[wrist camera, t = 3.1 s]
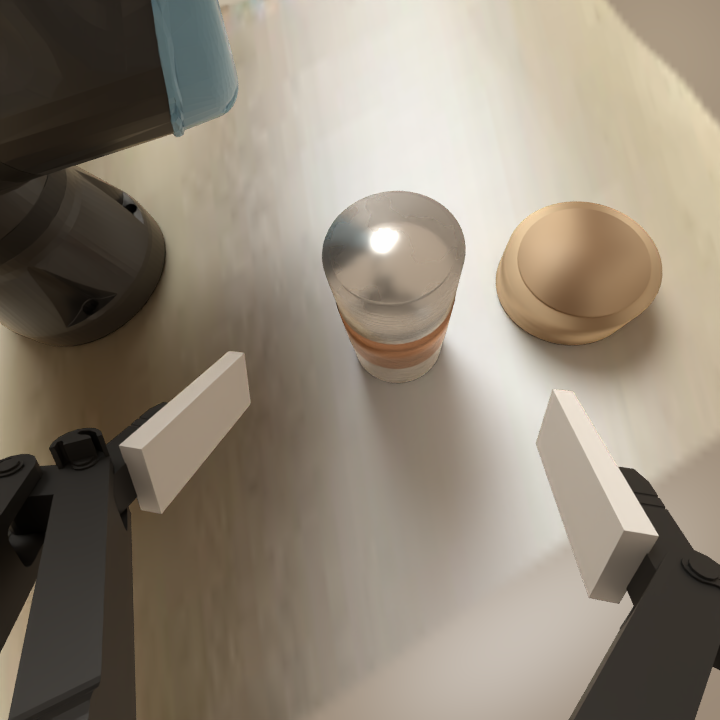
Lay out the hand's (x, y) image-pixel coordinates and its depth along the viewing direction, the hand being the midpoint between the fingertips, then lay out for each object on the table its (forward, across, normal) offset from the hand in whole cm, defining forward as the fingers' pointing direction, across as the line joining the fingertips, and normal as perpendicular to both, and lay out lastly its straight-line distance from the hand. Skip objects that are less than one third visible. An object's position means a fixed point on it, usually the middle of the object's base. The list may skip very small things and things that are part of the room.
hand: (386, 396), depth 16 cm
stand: (+17, +11, +1) cm, 20 cm away
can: (+12, -1, -3) cm, 13 cm away
